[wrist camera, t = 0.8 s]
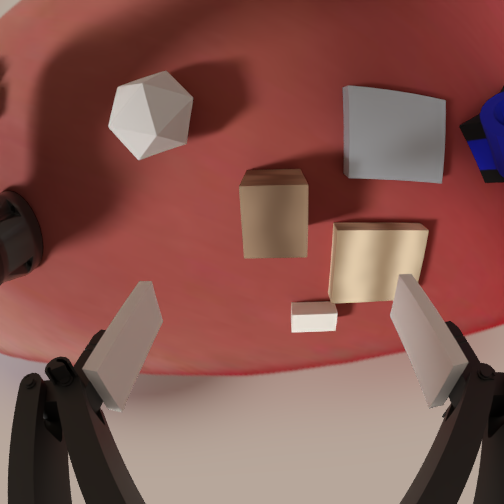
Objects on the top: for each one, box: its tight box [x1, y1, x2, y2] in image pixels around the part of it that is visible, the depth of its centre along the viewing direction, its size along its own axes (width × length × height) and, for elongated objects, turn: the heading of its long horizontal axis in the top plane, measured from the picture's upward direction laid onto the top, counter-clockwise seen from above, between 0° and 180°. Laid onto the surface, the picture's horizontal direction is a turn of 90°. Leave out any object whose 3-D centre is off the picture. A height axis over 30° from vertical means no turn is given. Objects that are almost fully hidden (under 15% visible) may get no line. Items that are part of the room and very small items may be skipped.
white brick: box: [291, 301, 338, 332], centre depth 39 cm, size 6×3×3 cm, turn 93°
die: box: [108, 71, 193, 160], centre depth 26 cm, size 8×9×10 cm
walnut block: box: [239, 169, 308, 258], centre depth 30 cm, size 6×7×8 cm
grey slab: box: [343, 86, 446, 183], centre depth 28 cm, size 12×10×3 cm
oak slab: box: [328, 223, 429, 303], centre depth 35 cm, size 12×10×3 cm
